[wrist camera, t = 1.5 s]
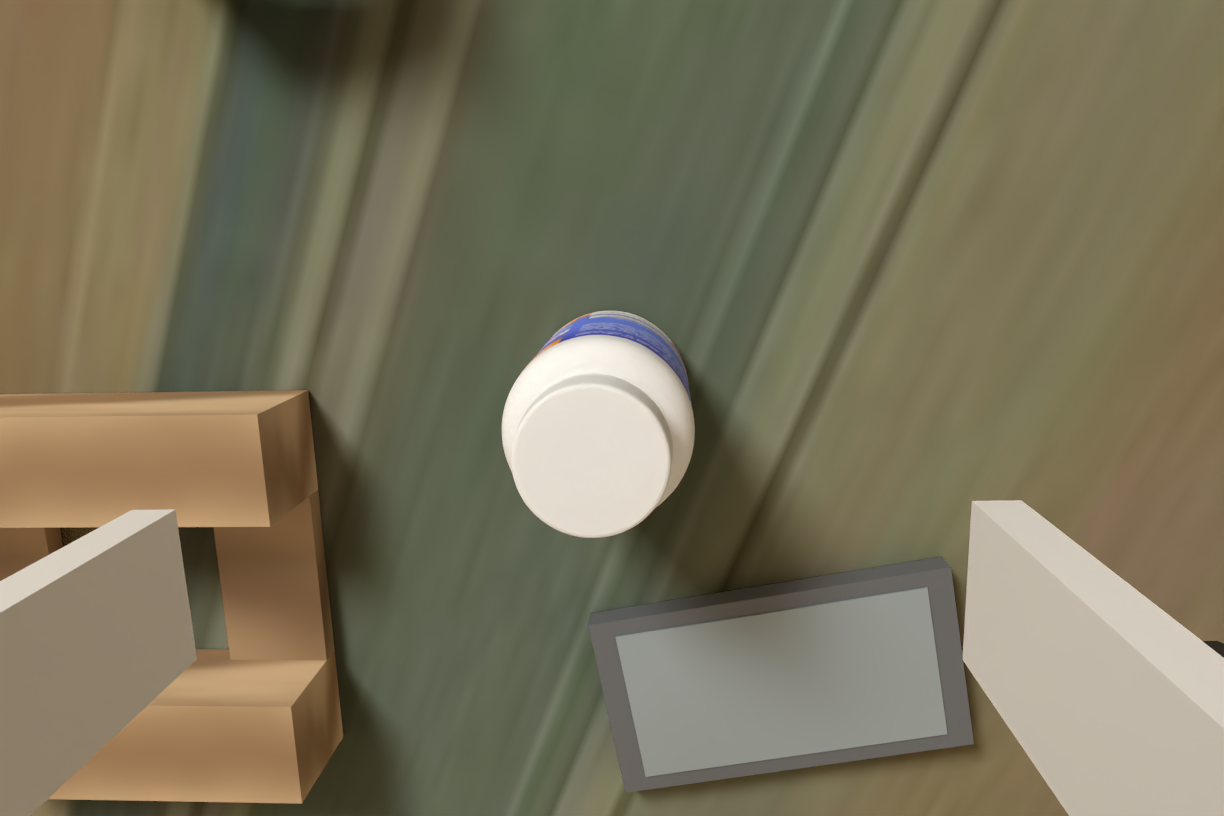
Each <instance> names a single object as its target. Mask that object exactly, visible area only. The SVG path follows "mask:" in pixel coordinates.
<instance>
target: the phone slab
mask: <svg viewBox="0 0 1224 816" xmlns="http://www.w3.org/2000/svg"><path fill="white" fill-rule="evenodd" d="M588 627H589V631H590V636H591V640H592V645H593V649H594V654H595V658H596V663H597V667H598V672H599V676H600V680H601V685H602V689H603V694H604V698H605V703H606V707H607V712H608V716H609V721H610V725H611V730H612V734H613V739H614V743H615V748H616V752H617V757H618V761H619V765H620V770H621V774H622V779H623V783H624V788H625V792H626V793H628V792H636V791H643V790H650V789H657V788H664V787H671V786H678V785H686V784H693V783H700V782H707V781H714V780H721V779H728V778H736V777H743V776H750V775H757V774H764V773H771V772H778V771H786V770H793V769H800V768H807V767H814V766H821V765H828V764H836V763H843V762H850V761H857V760H864V759H871V758H879V757H886V756H893V755H900V754H907V753H914V752H921V751H929V750H936V749H943V748H950V747H957V746H964V745H971V744H974V741H973V733H972V725H971V718H970V710H969V702H968V695H967V687H966V679H965V672H964V664H963V660H962V659H963V656H962V648H961V641H960V633H959V625H958V618H957V610H956V602H955V595H954V587H953V579H952V572H951V567H950V566H949V564H948V563H947V562H946V561H945V560H944V558H943V557H936V558H930V559H923V560H917V561H911V562H905V563H899V564H892V565H886V566H880V567H874V568H868V569H862V570H855V571H849V572H843V573H837V574H831V575H824V576H818V577H812V578H806V579H800V580H793V581H787V582H781V583H775V584H769V585H763V586H756V587H750V588H744V589H738V590H732V591H725V592H719V593H713V594H707V595H701V596H695V597H688V598H682V599H676V600H670V601H664V602H657V603H651V604H645V605H639V606H633V607H626V608H620V609H614V610H608V611H602V612H596V613H590V619H589V624H588Z"/></svg>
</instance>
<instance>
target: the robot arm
mask: <svg viewBox="0 0 1224 816" xmlns="http://www.w3.org/2000/svg"><path fill="white" fill-rule="evenodd" d="M195 660H197V656H196V649H195V642H194V635H193V628H192V621H191V614H190V607H189V600H188V593H187V586H186V579H185V572H184V565H183V558H182V551H181V544H180V537H179V531H178V524H177V517H176V510H175V509H168V510H131V511H129V512H127V513H125V514H123V515H121V516H120V517H118V518H116V519H114V520H112V521H110V522H109V523H107V524H105V525H103V526H101V527H99V528H97V529H96V530H94V531H92V532H90V533H88V534H86V535H85V536H83V537H81V538H79V539H77V540H75V541H73V542H72V543H70V544H68V545H66V546H64V547H62V548H61V549H59V550H57V551H55V552H53V553H51V554H49V555H48V556H46V557H44V558H42V559H40V560H38V561H37V562H35V563H33V564H31V565H29V566H27V567H26V568H24V569H22V570H20V571H18V572H16V573H14V574H13V575H11V576H9V577H7V578H5V579H3V580H2V581H0V816H30V815H31V814H32V813H33V812H34V811H36V810H37V809H38V808H39V807H40V806H41V805H42V804H43V803H44V802H45V801H46V800H47V799H48V798H49V797H50V796H52V795H53V794H54V793H55V792H56V791H57V790H58V789H59V788H60V787H61V786H62V785H63V784H64V783H65V782H66V781H68V780H69V779H70V778H71V777H72V776H73V775H74V774H75V773H76V772H77V771H78V770H79V769H80V768H81V767H82V766H84V765H85V764H86V763H87V762H88V761H89V760H90V759H91V758H92V757H93V756H94V755H95V754H96V753H97V752H98V751H100V750H101V749H102V748H103V747H104V746H105V745H106V744H107V743H108V742H109V741H110V740H111V739H112V738H113V737H114V736H116V735H117V734H118V733H119V732H120V731H121V730H122V729H123V728H124V727H125V726H126V725H127V724H128V723H129V722H130V721H131V720H133V719H134V718H135V717H136V716H137V715H138V714H139V713H140V712H141V711H142V710H143V709H144V708H145V707H146V706H147V705H149V704H150V703H151V702H152V701H153V700H154V699H155V698H156V697H157V696H158V695H159V694H160V693H161V692H162V691H163V690H165V689H166V688H167V687H168V686H169V685H170V684H171V683H172V682H173V681H174V680H175V679H176V678H177V677H178V676H179V675H181V674H182V673H183V672H184V671H185V670H186V669H187V668H188V667H189V666H190V665H191V664H192V663H193V662H194V661H195ZM962 660H963V661H964V663H965V664H966V666H967V667H968V669H969V670H970V671H971V673H972V674H973V676H974V677H975V679H976V680H977V682H978V683H979V685H980V686H981V688H982V689H983V690H984V692H985V693H986V695H987V696H988V698H989V699H990V701H991V702H992V704H993V705H994V707H995V708H996V709H997V711H998V712H999V714H1000V715H1001V717H1002V718H1003V720H1004V721H1005V723H1006V724H1007V726H1008V727H1009V728H1010V730H1011V731H1012V733H1013V734H1014V736H1015V737H1016V739H1017V740H1018V742H1019V743H1020V745H1021V746H1022V748H1023V749H1024V750H1025V752H1026V753H1027V755H1028V756H1029V758H1030V759H1031V761H1032V762H1033V764H1034V765H1035V767H1036V768H1037V769H1038V771H1039V772H1040V774H1041V775H1042V777H1043V778H1044V780H1045V781H1046V783H1047V784H1048V786H1049V787H1050V788H1051V790H1052V791H1053V793H1054V794H1055V796H1056V797H1057V799H1058V800H1059V802H1060V803H1061V805H1062V806H1063V807H1064V809H1065V810H1066V812H1067V813H1068V815H1069V816H1224V644H1223V643H1221V642H1218V641H1201V640H1200V639H1199V638H1198V637H1196V636H1195V635H1194V634H1192V633H1191V632H1190V631H1189V630H1187V629H1186V628H1185V627H1183V626H1182V625H1181V624H1180V623H1178V622H1177V621H1176V620H1174V619H1173V618H1172V617H1171V616H1169V615H1168V614H1167V613H1165V612H1164V611H1163V610H1162V609H1160V608H1159V607H1158V606H1156V605H1155V604H1154V603H1153V602H1151V601H1150V600H1149V599H1147V598H1146V597H1145V596H1144V595H1142V594H1141V593H1140V592H1138V591H1137V590H1136V589H1135V588H1133V587H1132V586H1131V585H1129V584H1128V583H1127V582H1126V581H1124V580H1123V579H1122V578H1120V577H1119V576H1118V575H1117V574H1115V573H1114V572H1113V571H1111V570H1110V569H1109V568H1108V567H1106V566H1105V565H1104V564H1102V563H1101V562H1100V561H1099V560H1097V559H1096V558H1095V557H1093V556H1092V555H1091V554H1090V553H1088V552H1087V551H1086V550H1084V549H1083V548H1082V547H1081V546H1079V545H1078V544H1077V543H1075V542H1074V541H1073V540H1072V539H1070V538H1069V537H1068V536H1066V535H1065V534H1064V533H1063V532H1061V531H1060V530H1059V529H1057V528H1056V527H1055V526H1054V525H1052V524H1051V523H1050V522H1048V521H1047V520H1046V519H1045V518H1043V517H1042V516H1041V515H1039V514H1038V513H1037V512H1036V511H1034V510H1033V509H1032V508H1030V507H1029V506H1028V505H1027V504H1025V503H1024V502H1023V501H1021V500H1019V501H972V508H971V525H970V542H969V559H968V575H967V592H966V609H965V625H964V642H963V659H962Z"/></svg>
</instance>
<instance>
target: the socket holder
mask: <svg viewBox="0 0 1224 816" xmlns="http://www.w3.org/2000/svg"><path fill="white" fill-rule="evenodd" d="M168 509H175V510H176V517H177V524H178V527H213V529H214V537H215V544H216V552H217V560H218V567H219V575H220V583H221V591H222V598H223V606H224V614H225V621H226V629H227V637H228V644H229V649H196V656H197V660H195V661H194V662H193V663H192V664H191V665H190V666H189V667H188V668H187V669H186V670H185V671H184V672H183V673H182V674H181V675H179V676H178V677H177V678H176V679H175V680H174V681H173V682H172V683H171V684H170V685H169V686H168V687H167V688H166V689H165V690H163V691H162V692H161V693H160V694H159V695H158V696H157V697H156V698H155V699H154V700H153V701H152V702H151V703H150V704H149V705H147V706H146V707H145V708H144V709H143V710H142V711H141V712H140V713H139V714H138V715H137V716H136V717H135V718H134V719H133V720H131V721H130V722H129V723H128V724H127V725H126V726H125V727H124V728H123V729H122V730H121V731H120V732H119V733H118V734H117V735H116V736H114V737H113V738H112V739H111V740H110V741H109V742H108V743H107V744H106V745H105V746H104V747H103V748H102V749H101V750H100V751H98V752H97V753H96V754H95V755H94V756H93V757H92V758H91V759H90V760H89V761H88V762H87V763H86V764H85V765H84V766H82V767H81V768H80V769H79V770H78V771H77V772H76V773H75V774H74V775H73V776H72V777H71V778H70V779H69V780H68V781H66V782H65V783H64V784H63V785H62V786H61V787H60V788H59V789H58V790H57V791H56V792H55V793H54V794H53V795H52V796H50V797H49V798H48V799H71V800H128V801H185V802H242V803H299V804H302V803H303V801H304V800H305V798H306V796H307V795H308V793H309V791H310V790H311V788H312V787H313V785H314V783H315V782H316V780H317V779H318V777H319V775H320V774H321V772H322V771H323V769H324V767H325V766H326V764H327V762H328V761H329V759H330V758H331V756H332V754H333V753H334V751H335V750H336V748H337V746H338V745H339V743H340V742H341V740H342V738H343V728H342V718H341V708H340V698H339V688H338V679H337V669H336V659H335V649H334V639H333V629H332V620H331V610H330V600H329V590H328V580H327V570H326V560H325V551H324V541H323V531H322V521H321V511H320V501H319V492H318V482H317V472H316V462H315V452H314V442H313V433H312V423H311V413H310V403H309V393H308V390H285V391H211V392H137V393H63V394H0V581H2V580H3V579H5V578H7V577H9V576H11V575H13V574H14V573H16V572H18V571H20V570H22V569H24V568H26V567H27V566H29V565H31V564H33V563H35V562H37V561H38V560H40V559H42V558H44V557H46V556H48V555H49V554H51V553H53V552H55V551H57V550H59V549H61V548H62V547H63V541H62V535H61V530H60V527H101V526H103V525H105V524H107V523H109V522H110V521H112V520H114V519H116V518H118V517H120V516H121V515H123V514H125V513H127V512H129V511H131V510H168Z"/></svg>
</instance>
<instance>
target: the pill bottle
mask: <svg viewBox="0 0 1224 816" xmlns="http://www.w3.org/2000/svg"><path fill="white" fill-rule="evenodd" d="M694 438H695V425H694V415H693V409H692V402H691V397H690V392H689V385H688V378H687V372H686V368H685V365H684V362H683V360H682V358H681V356H680V354H679V352H678V350H677V348H676V347H675V345H674V344H673V343H672V341H671V340H670V339H669V338H668V336H667V335H666V334H665V333H664V332H662V331H661V330H660V329H659V328H658V327H656V326H655V325H654V324H652V323H651V322H649V321H647V320H646V319H644V318H642V317H639V316H637V315H634V314H631V313H626V312H621V311H599V312H593V313H590V314H586V315H583V316H581V317H579V318H576V319H575V320H573V321H571V322H569V323H568V324H566V325H565V326H564V327H562V328H561V329H560V330H558V331H557V332H556V333H555V334H554V335H553V336H552V337H551V338H550V340H549V341H548V342H547V343H546V344H545V345H544V347H543V348H542V349H541V350H540V351H539V352H538V354H537V355H536V356H535V357H534V358H533V359H532V361H531V362H530V363H529V364H528V365H527V366H526V368H525V369H524V370H523V371H522V373H521V374H520V376H519V377H518V379H517V380H516V382H515V383H514V385H513V387H512V389H511V391H510V393H509V396H508V398H507V401H506V404H505V408H504V412H503V419H502V442H503V447H504V452H505V456H506V459H507V462H508V464H509V467H510V469H511V471H512V473H513V478H514V481H515V484H516V487H517V489H518V491H519V493H520V495H521V497H522V499H523V501H524V502H525V504H526V505H527V506H528V507H529V509H530V510H531V511H532V512H533V513H534V514H535V515H536V516H537V517H538V518H540V519H541V520H542V521H543V522H545V523H546V524H548V525H549V526H551V527H553V528H554V529H556V530H559V531H561V532H563V533H566V534H569V535H573V536H578V537H586V538H601V537H607V536H613V535H616V534H619V533H622V532H624V531H627V530H629V529H631V528H632V527H634V526H636V525H637V524H639V523H640V522H641V521H643V520H644V519H645V518H646V517H647V516H648V515H649V514H650V513H651V512H652V511H653V510H654V509H655V508H656V507H657V506H659V505H660V504H661V503H662V502H663V501H665V500H666V498H667V497H668V496H669V495H670V494H671V493H672V492H673V491H674V490H675V489H676V487H677V486H678V484H679V483H680V481H681V480H682V478H683V476H684V474H685V472H686V470H687V467H688V465H689V462H690V459H691V456H692V452H693V447H694Z"/></svg>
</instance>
